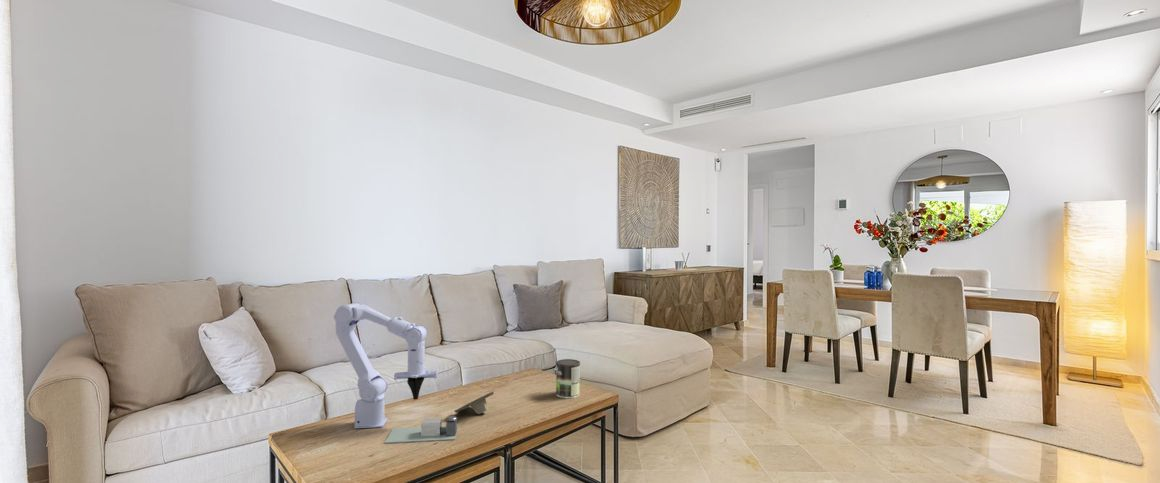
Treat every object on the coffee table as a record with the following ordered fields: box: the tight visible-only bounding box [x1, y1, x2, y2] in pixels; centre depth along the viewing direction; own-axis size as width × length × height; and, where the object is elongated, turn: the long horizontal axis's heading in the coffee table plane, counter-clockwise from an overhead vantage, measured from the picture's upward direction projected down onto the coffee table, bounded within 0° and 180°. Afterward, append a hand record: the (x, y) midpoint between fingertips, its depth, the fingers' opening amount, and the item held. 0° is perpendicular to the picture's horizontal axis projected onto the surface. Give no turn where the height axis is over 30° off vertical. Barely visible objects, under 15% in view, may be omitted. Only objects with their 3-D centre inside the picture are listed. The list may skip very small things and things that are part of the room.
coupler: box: [440, 415, 458, 436], centre depth 163 cm, size 10×5×5 cm, turn 99°
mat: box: [384, 424, 459, 445], centre depth 163 cm, size 22×12×1 cm, turn 99°
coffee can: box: [555, 358, 581, 399], centre depth 207 cm, size 10×10×14 cm
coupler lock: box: [420, 417, 443, 437], centre depth 162 cm, size 6×5×4 cm
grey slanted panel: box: [454, 389, 497, 415], centre depth 183 cm, size 16×9×15 cm
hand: (415, 398), depth 171 cm, fingers closed
